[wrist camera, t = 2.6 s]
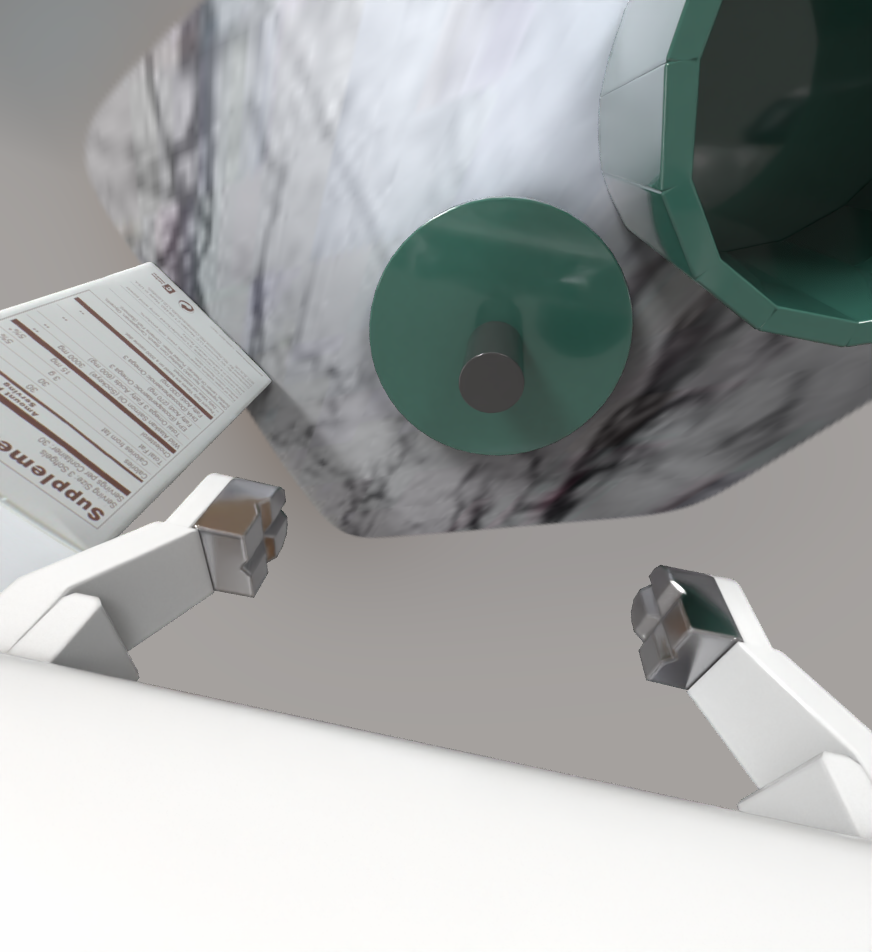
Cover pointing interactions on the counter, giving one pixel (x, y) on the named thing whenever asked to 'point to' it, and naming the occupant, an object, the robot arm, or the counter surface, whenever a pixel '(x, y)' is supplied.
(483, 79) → the counter surface
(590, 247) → the lid
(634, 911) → the robot arm
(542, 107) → the counter surface
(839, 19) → the tin
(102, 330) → the white packaging box
